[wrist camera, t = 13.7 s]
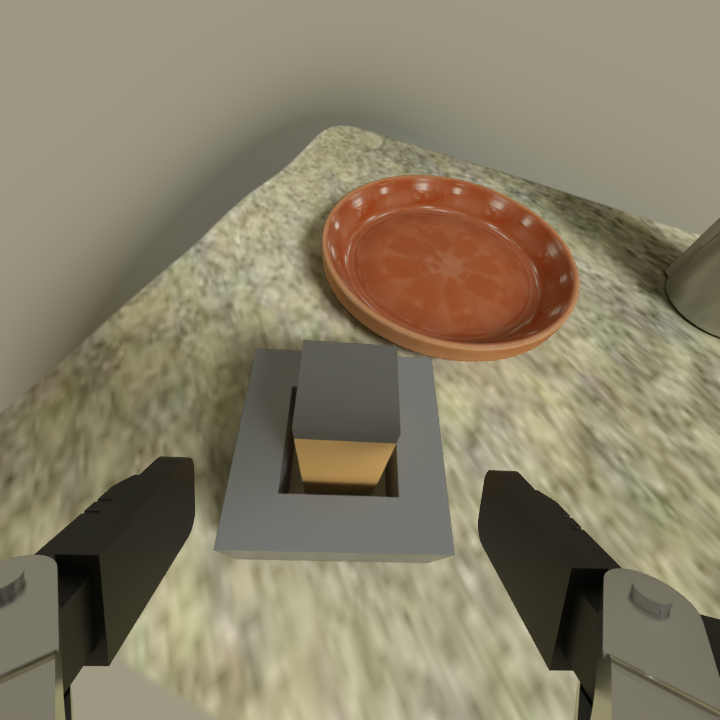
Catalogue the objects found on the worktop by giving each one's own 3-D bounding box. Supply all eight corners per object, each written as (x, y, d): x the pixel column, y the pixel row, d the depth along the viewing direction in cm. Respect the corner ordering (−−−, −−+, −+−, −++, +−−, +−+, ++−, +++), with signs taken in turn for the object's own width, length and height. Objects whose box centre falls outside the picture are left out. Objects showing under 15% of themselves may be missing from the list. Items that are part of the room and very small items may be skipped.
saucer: (384, 181, 43) (389, 149, 40) (574, 251, 38) (596, 222, 35) (272, 301, 31) (266, 269, 28) (529, 424, 27) (556, 401, 23)
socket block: (266, 387, 26) (255, 348, 22) (415, 394, 27) (431, 358, 23) (236, 559, 20) (213, 550, 16) (428, 562, 21) (454, 555, 17)
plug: (311, 429, 24) (303, 339, 15) (371, 433, 24) (396, 346, 15) (304, 493, 21) (291, 428, 13) (371, 495, 22) (400, 434, 13)
